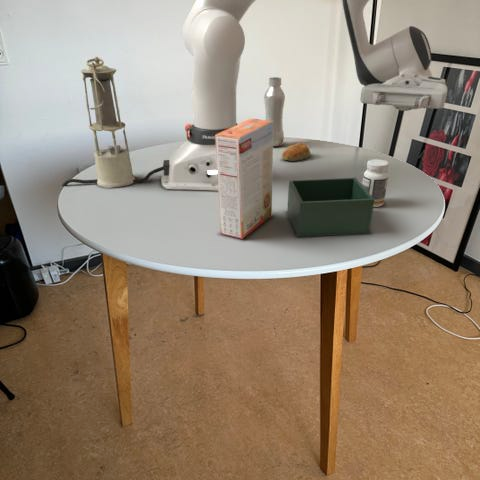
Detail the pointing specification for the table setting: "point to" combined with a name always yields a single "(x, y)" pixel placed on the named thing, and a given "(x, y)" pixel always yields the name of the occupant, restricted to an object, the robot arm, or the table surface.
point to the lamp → (107, 127)
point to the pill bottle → (376, 180)
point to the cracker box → (244, 176)
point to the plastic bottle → (275, 109)
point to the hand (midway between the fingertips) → (396, 102)
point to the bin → (329, 207)
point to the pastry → (296, 152)
